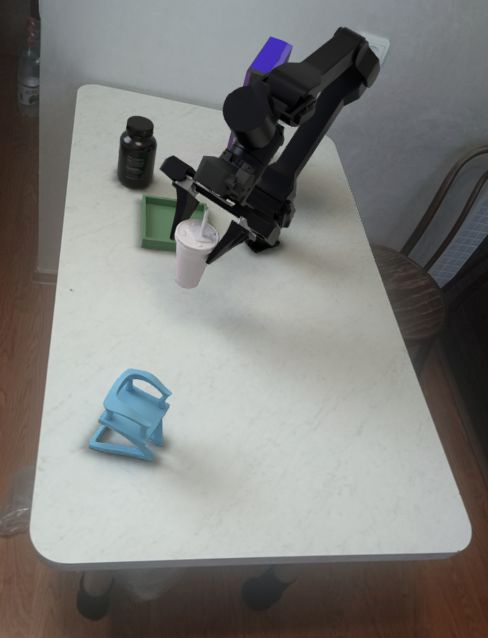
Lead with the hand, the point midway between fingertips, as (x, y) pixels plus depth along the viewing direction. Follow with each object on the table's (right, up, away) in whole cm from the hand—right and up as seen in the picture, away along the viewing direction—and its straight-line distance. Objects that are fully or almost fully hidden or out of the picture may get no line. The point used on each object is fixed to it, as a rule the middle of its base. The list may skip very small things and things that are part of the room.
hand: (188, 251), depth 78 cm
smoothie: (-1, -3, +6) cm, 7 cm away
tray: (-5, +8, +22) cm, 24 cm away
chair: (-7, -26, -5) cm, 28 cm away
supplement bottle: (-14, +19, +28) cm, 37 cm away
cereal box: (+7, +25, +39) cm, 47 cm away
